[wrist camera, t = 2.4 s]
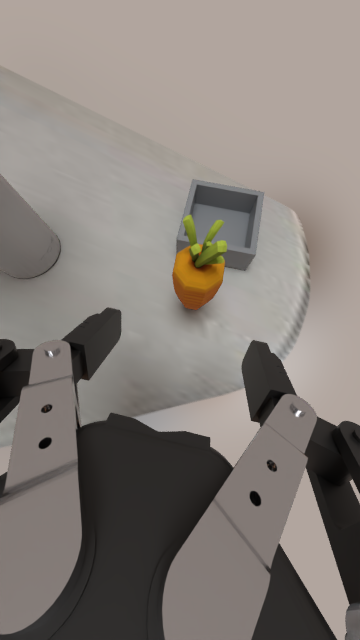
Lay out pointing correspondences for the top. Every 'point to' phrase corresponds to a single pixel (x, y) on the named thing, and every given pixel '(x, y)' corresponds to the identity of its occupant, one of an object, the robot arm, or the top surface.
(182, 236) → the bin
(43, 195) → the top surface
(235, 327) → the top surface
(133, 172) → the top surface
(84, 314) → the top surface
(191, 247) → the carrot
